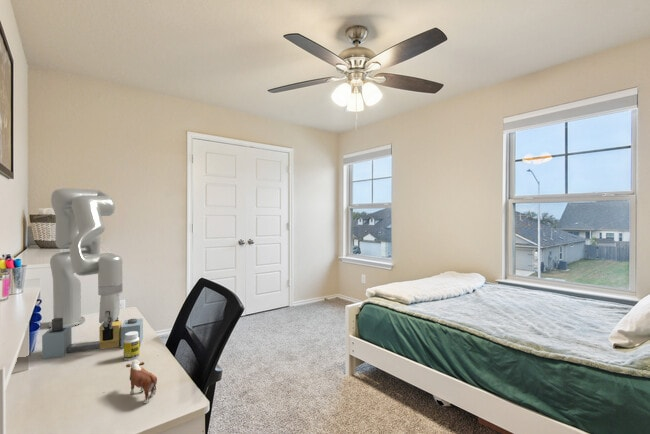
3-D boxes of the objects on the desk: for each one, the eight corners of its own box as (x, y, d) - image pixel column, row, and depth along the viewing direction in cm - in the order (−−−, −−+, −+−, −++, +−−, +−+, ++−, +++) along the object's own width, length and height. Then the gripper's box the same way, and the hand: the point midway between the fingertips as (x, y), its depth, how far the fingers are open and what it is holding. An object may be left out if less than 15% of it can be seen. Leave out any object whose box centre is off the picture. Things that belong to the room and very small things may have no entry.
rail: (69, 349, 119) (69, 344, 119) (124, 343, 126) (124, 337, 126) (66, 353, 117) (66, 347, 117) (122, 346, 123) (122, 340, 123)
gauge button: (53, 329, 118) (53, 318, 117) (64, 328, 119) (64, 317, 119) (50, 332, 115) (50, 320, 115) (61, 331, 116) (61, 319, 116)
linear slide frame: (51, 349, 120) (51, 324, 119) (142, 338, 131) (142, 315, 130) (42, 359, 112) (42, 332, 112) (140, 346, 123) (140, 322, 123)
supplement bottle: (132, 361, 111) (132, 336, 111) (120, 359, 112) (120, 335, 112) (142, 355, 116) (142, 331, 116) (131, 353, 117) (131, 330, 117)
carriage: (102, 344, 124) (102, 322, 124) (121, 341, 126) (121, 320, 126) (99, 349, 120) (99, 327, 119) (118, 346, 122) (118, 325, 122)
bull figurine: (139, 383, 98) (139, 356, 97) (160, 400, 89) (160, 370, 89) (123, 389, 94) (122, 361, 94) (143, 408, 86) (143, 377, 85)
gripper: (104, 285, 129) (104, 328, 129) (92, 295, 113) (92, 345, 113) (126, 283, 132) (126, 326, 132) (117, 293, 116) (118, 342, 116)
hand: (110, 335), depth 123 cm, fingers open, 9 cm apart
